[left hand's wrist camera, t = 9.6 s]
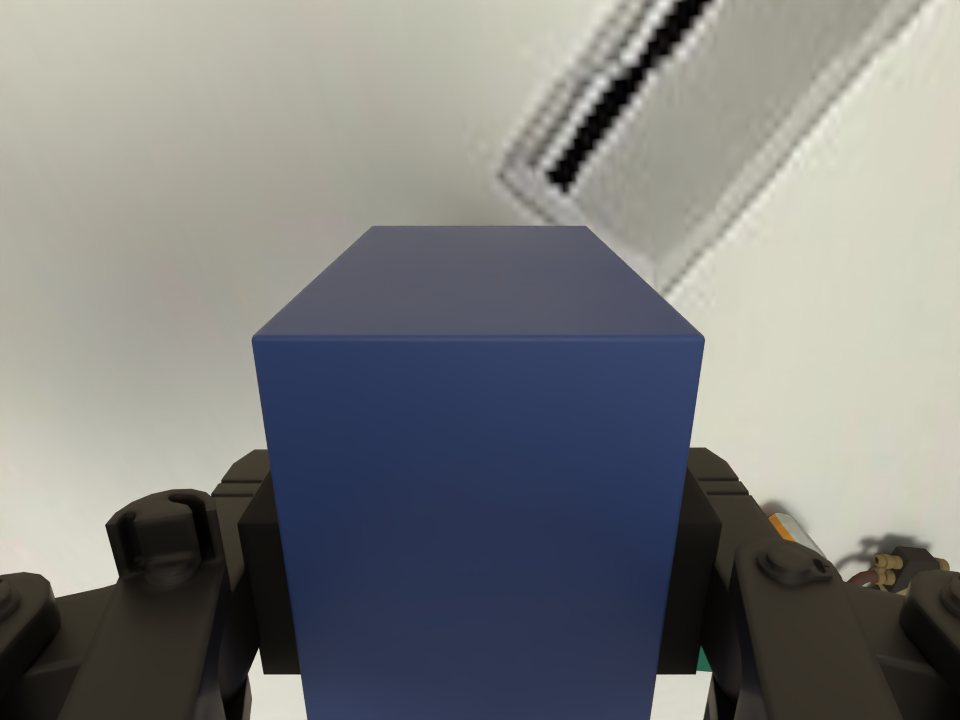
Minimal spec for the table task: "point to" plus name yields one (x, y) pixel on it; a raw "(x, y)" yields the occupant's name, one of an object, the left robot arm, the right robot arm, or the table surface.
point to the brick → (478, 474)
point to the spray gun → (888, 573)
